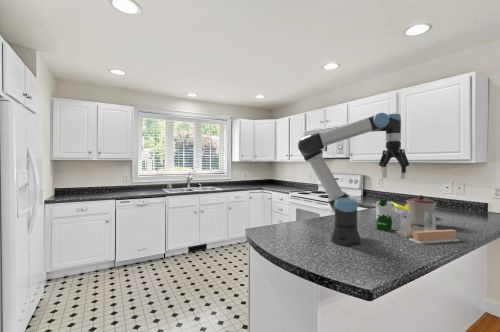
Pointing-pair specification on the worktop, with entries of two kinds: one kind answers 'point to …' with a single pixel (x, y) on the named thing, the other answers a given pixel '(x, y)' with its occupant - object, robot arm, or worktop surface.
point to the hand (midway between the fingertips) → (393, 178)
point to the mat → (434, 241)
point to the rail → (434, 235)
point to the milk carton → (384, 215)
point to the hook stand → (406, 224)
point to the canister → (420, 209)
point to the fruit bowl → (401, 208)
